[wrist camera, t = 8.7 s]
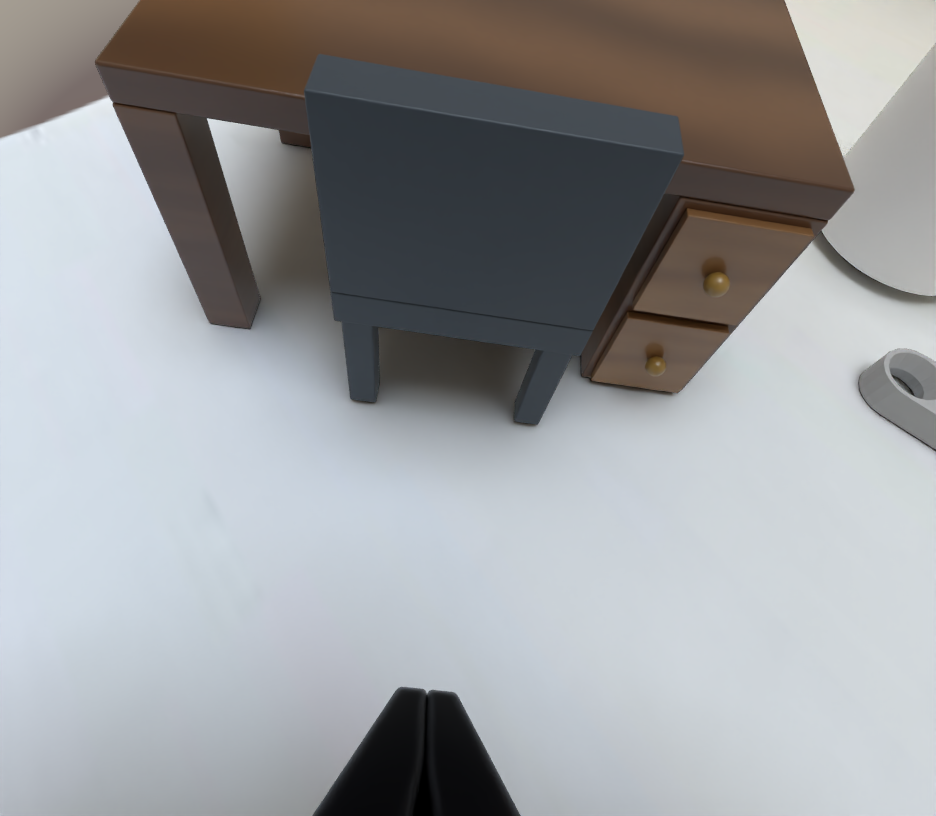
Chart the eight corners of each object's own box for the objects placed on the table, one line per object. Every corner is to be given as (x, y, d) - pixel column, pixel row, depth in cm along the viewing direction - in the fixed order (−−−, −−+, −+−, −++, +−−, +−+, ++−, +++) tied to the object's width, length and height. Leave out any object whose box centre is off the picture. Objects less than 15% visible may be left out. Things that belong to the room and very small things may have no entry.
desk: (684, 412, 21) (867, 218, 13) (200, 344, 20) (73, 85, 12) (657, 184, 28) (770, -43, 20) (288, 122, 27) (244, -145, 19)
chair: (542, 429, 20) (686, 154, 10) (344, 403, 20) (302, 89, 10) (546, 281, 24) (656, -29, 14) (378, 255, 23) (371, -83, 13)
